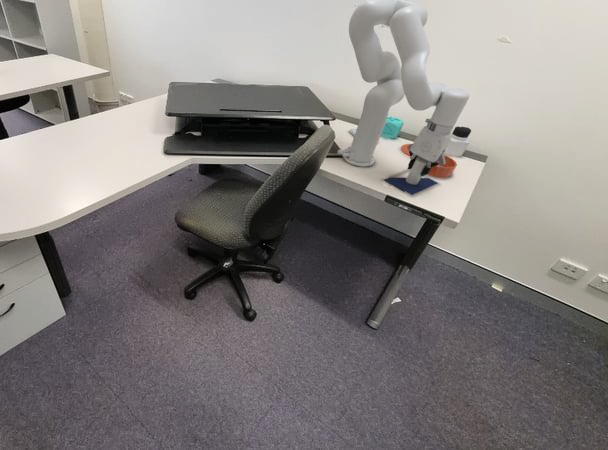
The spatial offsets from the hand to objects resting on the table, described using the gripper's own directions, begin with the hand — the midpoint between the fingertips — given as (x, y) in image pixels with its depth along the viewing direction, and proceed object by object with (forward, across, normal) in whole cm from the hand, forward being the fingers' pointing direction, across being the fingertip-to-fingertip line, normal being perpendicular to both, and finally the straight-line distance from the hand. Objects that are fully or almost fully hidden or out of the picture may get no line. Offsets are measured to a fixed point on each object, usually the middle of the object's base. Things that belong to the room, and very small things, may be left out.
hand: (417, 171), depth 126 cm
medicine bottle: (+5, -7, +38) cm, 39 cm away
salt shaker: (+5, 0, 0) cm, 5 cm away
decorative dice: (+5, -32, +27) cm, 42 cm away
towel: (+5, 0, 0) cm, 5 cm away
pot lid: (+4, -14, +24) cm, 28 cm away
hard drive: (+5, -36, +15) cm, 40 cm away
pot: (+5, -1, +17) cm, 17 cm away
